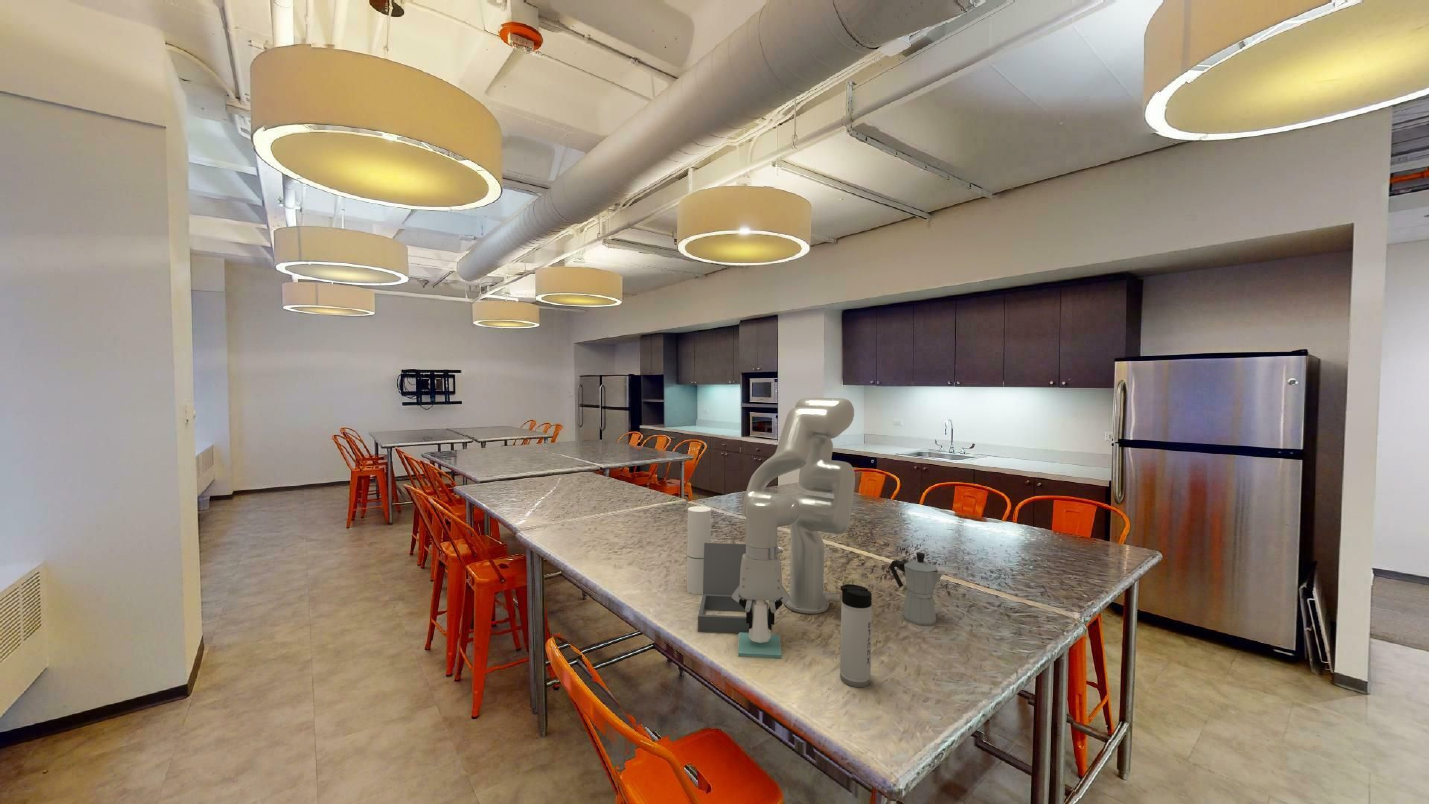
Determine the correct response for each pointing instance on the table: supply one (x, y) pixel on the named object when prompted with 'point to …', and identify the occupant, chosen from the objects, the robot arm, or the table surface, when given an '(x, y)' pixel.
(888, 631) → the table surface
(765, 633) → the salt shaker
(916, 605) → the coffee maker
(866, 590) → the travel mug
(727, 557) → the lid
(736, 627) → the case
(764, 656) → the pad
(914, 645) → the table surface
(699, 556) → the cylindrical container
